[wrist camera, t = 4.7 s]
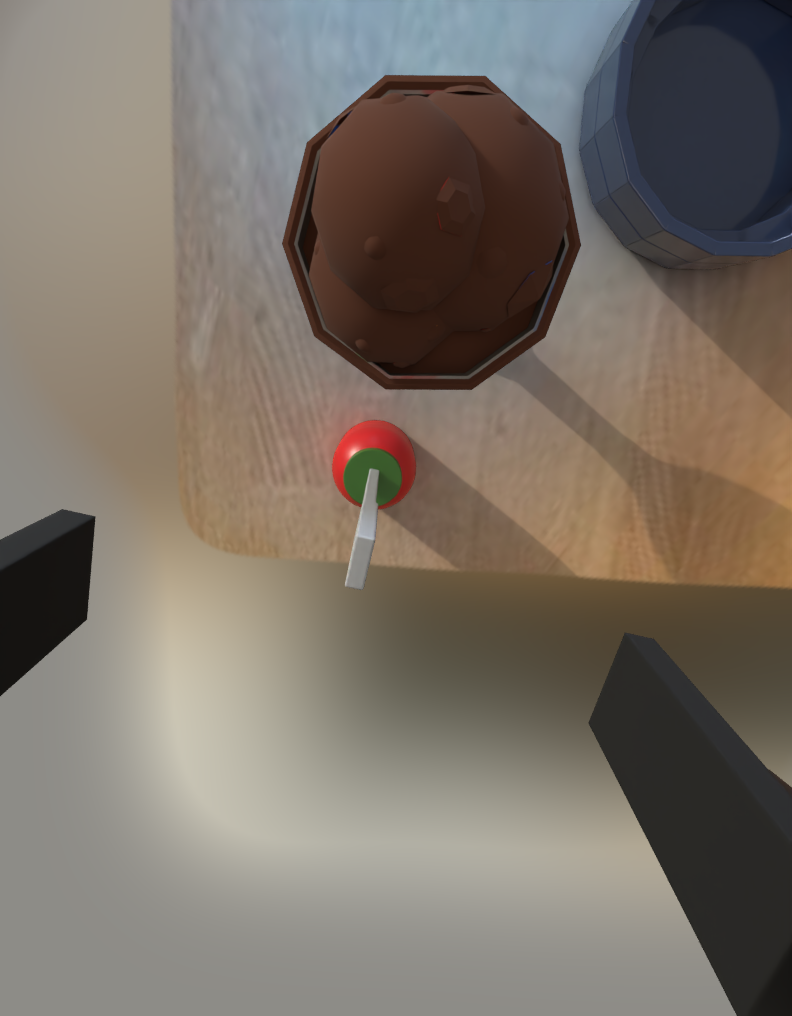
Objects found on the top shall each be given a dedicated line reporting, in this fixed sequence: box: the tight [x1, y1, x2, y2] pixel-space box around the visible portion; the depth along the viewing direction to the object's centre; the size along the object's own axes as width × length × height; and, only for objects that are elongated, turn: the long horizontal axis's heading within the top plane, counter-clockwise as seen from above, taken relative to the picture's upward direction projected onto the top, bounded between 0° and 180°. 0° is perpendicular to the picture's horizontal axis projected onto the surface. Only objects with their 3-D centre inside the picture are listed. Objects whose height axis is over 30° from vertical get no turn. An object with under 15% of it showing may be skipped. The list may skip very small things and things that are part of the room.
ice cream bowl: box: [282, 75, 581, 390], centre depth 22 cm, size 11×11×15 cm
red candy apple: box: [332, 420, 416, 590], centre depth 25 cm, size 5×5×16 cm
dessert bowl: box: [579, 0, 792, 269], centre depth 25 cm, size 13×13×5 cm
